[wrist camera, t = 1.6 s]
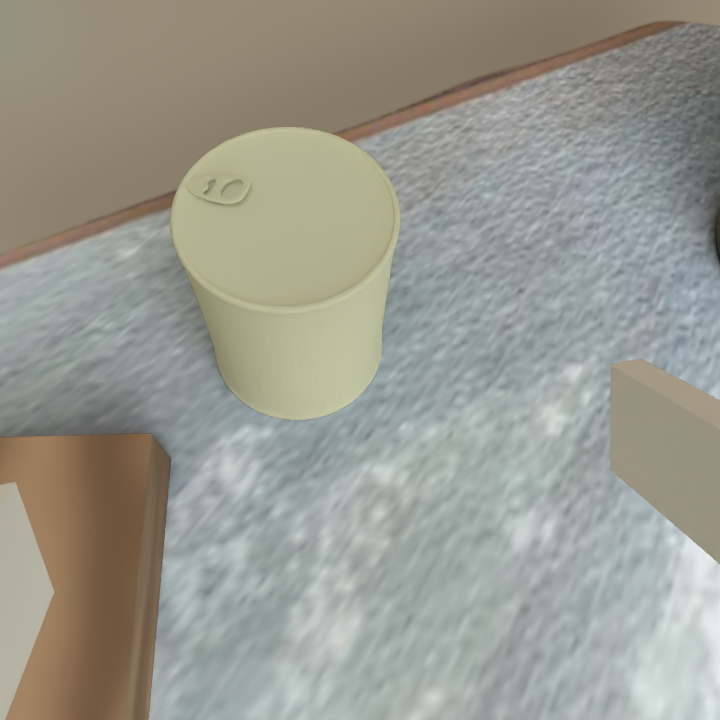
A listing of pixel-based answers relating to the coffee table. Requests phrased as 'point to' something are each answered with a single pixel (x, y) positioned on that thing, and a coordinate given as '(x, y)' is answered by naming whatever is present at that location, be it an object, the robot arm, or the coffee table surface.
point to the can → (289, 265)
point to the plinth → (92, 571)
